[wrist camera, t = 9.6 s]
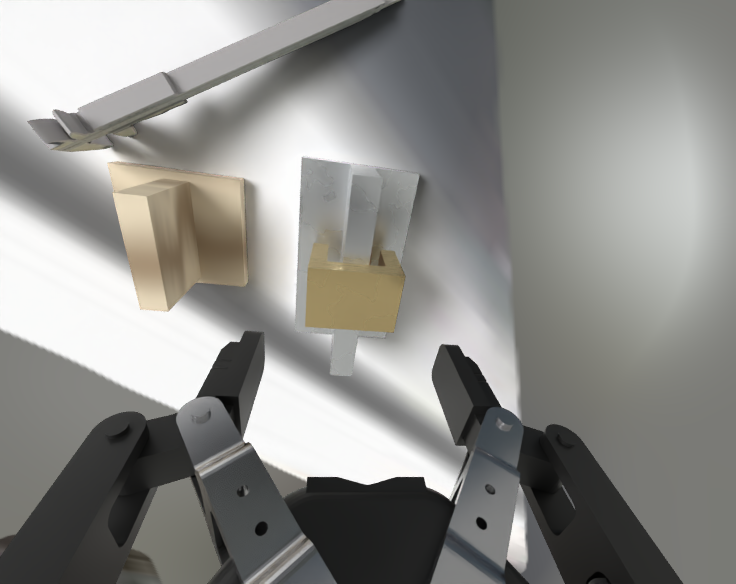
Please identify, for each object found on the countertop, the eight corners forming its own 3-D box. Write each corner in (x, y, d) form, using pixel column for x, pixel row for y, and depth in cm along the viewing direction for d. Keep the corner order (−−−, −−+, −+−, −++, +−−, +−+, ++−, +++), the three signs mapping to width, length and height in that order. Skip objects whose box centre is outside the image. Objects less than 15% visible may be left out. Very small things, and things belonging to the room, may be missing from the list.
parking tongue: (117, 161, 20) (37, 173, 15) (243, 178, 21) (211, 194, 16) (141, 271, 24) (84, 312, 18) (248, 281, 25) (222, 322, 19)
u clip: (313, 242, 21) (307, 267, 17) (394, 251, 21) (405, 276, 18) (311, 294, 22) (305, 326, 19) (385, 300, 23) (393, 332, 19)
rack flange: (303, 155, 21) (290, 165, 15) (416, 172, 22) (440, 186, 16) (296, 325, 27) (285, 372, 22) (383, 331, 28) (393, 378, 23)
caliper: (111, 150, 20) (23, 158, 14) (98, 132, 19) (2, 134, 14) (401, 1, 18) (429, -57, 12) (395, -23, 17) (421, -95, 12)
